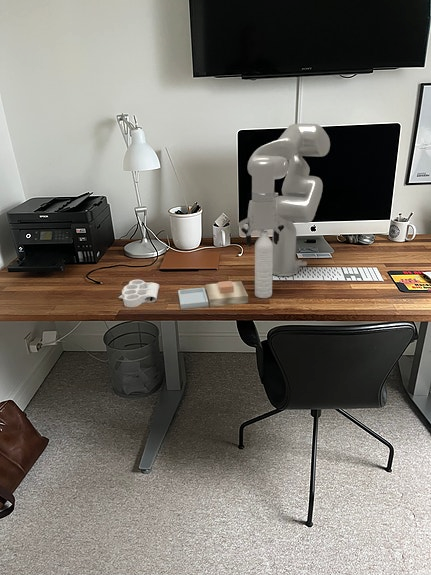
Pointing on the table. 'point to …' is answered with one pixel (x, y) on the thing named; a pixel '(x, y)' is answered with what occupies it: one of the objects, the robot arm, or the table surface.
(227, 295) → the birch plate
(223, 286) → the terracotta tile
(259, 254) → the water bottle
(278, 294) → the table surface
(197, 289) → the box
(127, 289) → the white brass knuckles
